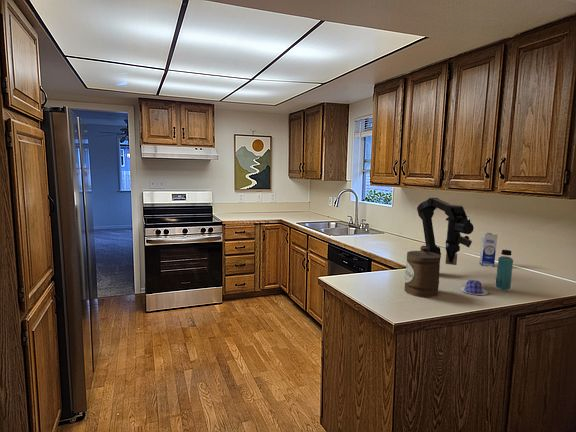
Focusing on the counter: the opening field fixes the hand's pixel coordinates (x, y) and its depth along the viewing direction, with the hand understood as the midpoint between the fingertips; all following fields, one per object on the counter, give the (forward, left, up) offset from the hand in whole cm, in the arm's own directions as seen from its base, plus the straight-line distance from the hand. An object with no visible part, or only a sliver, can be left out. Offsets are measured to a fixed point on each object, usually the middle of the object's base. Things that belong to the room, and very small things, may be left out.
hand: (451, 261), depth 185 cm
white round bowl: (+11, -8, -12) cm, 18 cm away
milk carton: (+22, +52, -12) cm, 58 cm away
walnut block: (0, 0, -1) cm, 1 cm away
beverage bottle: (+24, 0, -12) cm, 26 cm away
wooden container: (-12, -21, -12) cm, 27 cm away
